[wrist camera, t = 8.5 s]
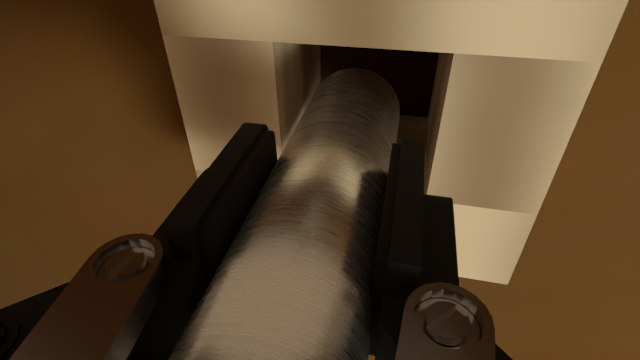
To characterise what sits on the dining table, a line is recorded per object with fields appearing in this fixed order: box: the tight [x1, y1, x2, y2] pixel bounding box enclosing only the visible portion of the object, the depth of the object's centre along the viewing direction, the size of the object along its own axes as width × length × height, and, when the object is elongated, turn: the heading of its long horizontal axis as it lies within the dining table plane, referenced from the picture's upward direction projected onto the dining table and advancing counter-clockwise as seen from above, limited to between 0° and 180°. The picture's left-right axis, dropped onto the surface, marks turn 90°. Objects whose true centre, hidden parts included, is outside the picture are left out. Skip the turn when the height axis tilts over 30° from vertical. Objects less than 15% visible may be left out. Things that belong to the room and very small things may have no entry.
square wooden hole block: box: [154, 0, 629, 285], centre depth 15 cm, size 12×12×6 cm
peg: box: [168, 68, 400, 360], centre depth 9 cm, size 3×3×12 cm
